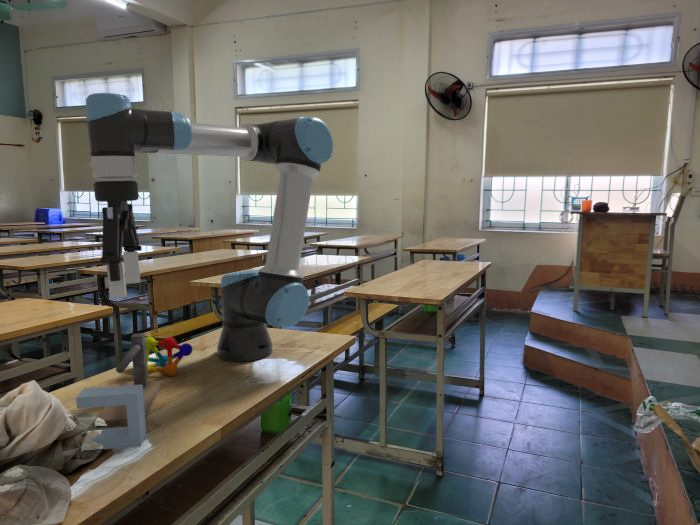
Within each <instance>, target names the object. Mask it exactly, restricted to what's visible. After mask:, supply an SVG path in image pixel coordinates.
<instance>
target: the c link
mask: <svg viewBox="0 0 700 525" xmlns="http://www.w3.org/2000/svg"><path fill="white" fill-rule="evenodd" d="M75 401H76V403H75V404H76V409H78V410H79V409H88V408H104V407H105V406H119V405H126V408H127V421H128V425H127V426H121V427H109V428H101V429H102V432H101V434H100V435H98V436H96V437H94V438H93V439H91V440H92V441H94V442H96V443H98V444H101V445H103V449H104V450H113V449H124V448H125V449H126V448H133V447H136V448H137V447H142V446H143V443H144V441H145V439H146V436H147V427H146V426H147V425H146V420H145V410H144V395H143V384H141V385H127V386H119V385H115V386H114V385H113V386H103V387H102V386H100V387H88V388H87V387H86V388H83V389H82V390H81V391H80V392H79V393H78V395H77V396H76V398H75Z"/></svg>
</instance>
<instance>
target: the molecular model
mask: <svg viewBox="0 0 700 525" xmlns="http://www.w3.org/2000/svg"><path fill="white" fill-rule="evenodd" d="M145 343H146V358H147V373H148V375H149V374H150V373H151V372H152V373H154V372H155V373H159V372H161V373H163V372H164V374H165V375H166V376H168V377H172V376H174V375H176V374H177V373H178V370H179V369H178V368H179V367H178V364H179V363H180V362H181V360H182V359H183V358H184V357H188V356H190V355H191V354H192V353H193V346H192V345H191V344H190V343H188V342H187V343H183V344H178V343H177V342H176V338H174V337H172V336H168V337H165V338H164V339H163V340H156V339H155V337H154V336H153V337H152V336H145ZM156 346H158V347H159V346H162V349H164V350H166V352H167V353H166V354H167V355H166V354H165V355H164V354H162V353H161V351H159V349H158V348H157V347H156ZM173 349H175V350H178V351H177V352H175V353H173ZM151 350H152V352H153V353H154V354H155V356H157V358H156V357H150V351H151ZM173 360H174V361H173ZM148 362H149V363H151V364H149V363H148Z"/></svg>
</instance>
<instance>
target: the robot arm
mask: <svg viewBox="0 0 700 525" xmlns="http://www.w3.org/2000/svg"><path fill="white" fill-rule="evenodd" d="M85 120H86V124H87V125H86V126H87V134H88V142H89V150H90V158H91V160H90V162H89V163H88V167H89V168H92V170H91V171H92V177H93V178H94V179H96V180H97V181H94V183H93V191H94V199H95V201H97V202H99V203H100V202H102V203H104V202H105V203H107V207H106V206H105V207H102V208H101V209H102V210H101V212H102V243H101V244H102V245H101V246H102V247H101V250H102V251H101V252H102V253H101V255H102V256H101V258H100V264H101V265H102V264H105V266H106V272H107V274H106V275H107V282H108V283H107V284H108V290H109V293H108V294H109V299H125V298H127V297H128V295H127V286H126V285H127V284H139V283H141V273H140V272H141V271H140V264H139V263H140V262H139V251H140V252H141V251H142V245H140V242H139V238H138V231H137V227H136V226H137V225H136V223H135V217H134V212H133V211H134V210H133V207H134V206H133V205H132V203H128V202H132V201H137V200H139V198H140V196H139V185H138V182H137V181H136V180H135V178H137V177H138V171H137V162H136V161H137V160H136V154H137V153H138V154H163V155H164V154H166V155H167V154H169V155H187V156H188V155H189V156H191V155H192V156H193V155H194V156H210V157H211V156H217V157H218V156H219V157H239V158H240V159H241V160H243V161H246V162H258V163H265V164H269V165H270V164H271V165H275V168H276V170H277V171H278V172H279V178H278V185H277V191H276V192H277V193H276V196H275V197H276V198H275V203H274V204H275V205H274V210H273V217H272V223H271V229H270V230H271V231H270V235H269V241H268V248H267V255H266V260H265V265H264V266H262V267H261V268H259V269H250V270H240V271H234V272H229V273H225V274H224V275H222V276H221V279H220V292H221V294H220V295H221V298H220V299H221V315H222V316H221V317H222V329H221V332H220V336H219V339H218V343H217V346H216V353H217V354H216V355H217V357H218V358H220V359H221V360H224V361H229V362H250V361H251V362H252V361H256V360H260V359H264V358H266V357H269V356H270V355H271V354H272V353H273V341H272V338H271V336H270V333H269V331H268V328H267V325H269V326H271V327H274V328H275V327H278V328H291V327H294V326H295V325H298V323H299V322H300V321H302V320H303V318H304V317H305V315H306V314H307V312H308V308H309V305H310V293H308V289H307V288H306V286H304V285H303V281H304V275H303V274H302V273H301V271H300V265H301V264H300V263H301V257H302V253H303V252H302V251H303V245H304V239H305V232H306V225H307V219H308V214H309V207H310V200H311V196H312V195H311V194H312V189H313V182H314V179H315V178H317V176H319V175H320V174H321V168H322V164H325V163H326V162H328V161H329V160H330V159H331V157H332V155H333V151H334V150H333V149H334V141H333V136H332V133H331V131H330V130H329V127H328V125H327V124H326V123H325V122H324V121H323V120H322V119H320V118H319V117H315V116H301V117H297V118H290V119H289V118H288V119H282V120H275V121H274V120H273V121H270V122H264V123H258V124H257V123H255V124H253V123H252V124H251V123H243V124H241V125H240V126H232V125H230V126H229V125H219V124H210V123H200V122H191V121H190V119H189V117H188V116H187V115H186V114H184V113H181V112H180V113H179V112H173V111H172V110H169V111H164V110H152V109H151V110H150V109H143V108H142V109H139V108H135V107H132V104H131V100H130V98H129V97H128V96H127V95H125V94H120V93H114V92H112V93H111V92H98V93H97V92H96V93H91V94H89V95H88V96H86V98H85ZM122 256H123V257H122ZM122 258H123V259H122ZM122 260H123V261H122Z"/></svg>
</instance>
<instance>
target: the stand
mask: <svg viewBox="0 0 700 525" xmlns="http://www.w3.org/2000/svg"><path fill="white" fill-rule="evenodd" d="M145 338H146V333H133V334H132V335H131V336H130V341H131V342H130V343H131V348H130V349H129V351H128V352H127V353H126V355H124V357H123V358H122V359H121V361H120V362H119V363H118V365H116V367H115V371H116V372H117V373H118V374H122V373H124V372H125V371H126V369H127V368H128V366H129V365H130V364H131V363H132V371H133V372H132V373H133V382H120V384H119V385H118V386H127V385H141V384H143V395H144V410H145V421H146V419H147V418H148V416H149V414H150V411H151V410H152V407H153V405H154V404H155V401H156V400H157V397H158V395H159V393H160V391H161V389H162V387H163V380H152V381H151V380H150V381H149V378H148V376H149V374H148V373H147V364H148V363H147V358H146V343H145ZM97 417H99V418H101V419H103V420H104V421H105V423H106V424H107V425H108V426H107V427H114V426H115V427H116V426H128V421H127V408H126V405H119V406H105V407H102V410H101V411H100V412H99V414H98V415H97Z"/></svg>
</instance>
